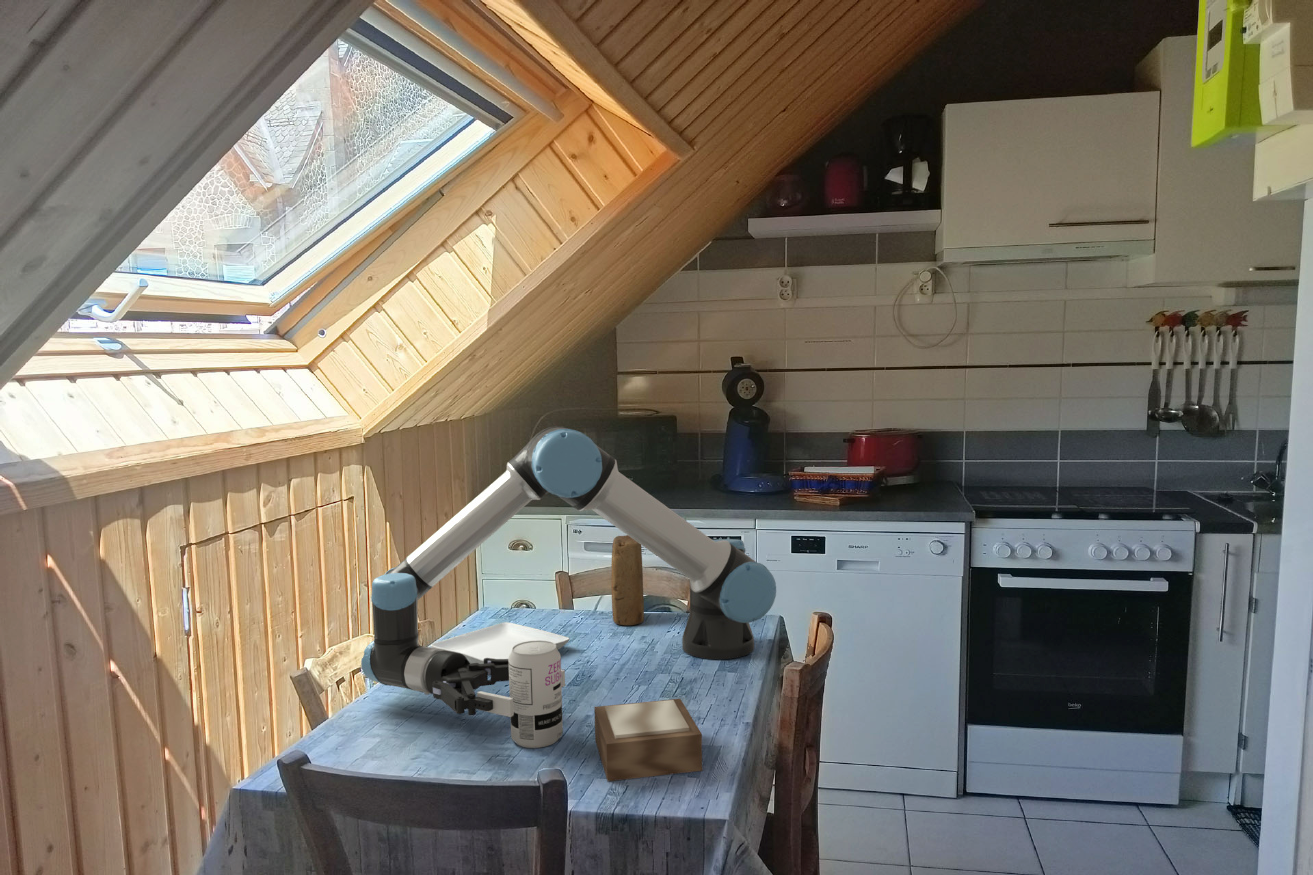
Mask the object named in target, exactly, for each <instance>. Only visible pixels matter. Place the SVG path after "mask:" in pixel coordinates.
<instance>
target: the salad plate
mask: <svg viewBox="0 0 1313 875" xmlns="http://www.w3.org/2000/svg"><path fill="white" fill-rule="evenodd" d="M537 640H541V641H549V642H553V643H555V644H556V648H557V650H558V651H559V650H560V649H561V648H563V647H564V646H565V645H566V644H568V642H569V641H570V637H568V636H566V635H565V636H564V635H562V634H559V633H558V634H557V633H554V632H550V631H546V630H542V629H538V628H535V627H531V626H526V625H522V624H517V623H513V622H508V621H507V622H506V621H505V622H501V623H497V624H494V625H491V626H487V627H483V628H480V629H476V630H473V631H470V632H469V631H468V632H466V633H462V634H460V635H457V636H453V637H450V638H447V639H444V640H440V641H437V642H434V643H432V644H430V647H431V648H437V649H442V650H446V651H452V652H457V653H461V654H463V655H464V656H465V657H466V658H467V660H468V661H469V663H470V664H471V663H479V664H484V659H485V658H493V659H508V658H509V656H510V654H511V652H512V648H513V646H515V645H517V644H519V643H522V642H527V641H537Z"/></svg>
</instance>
